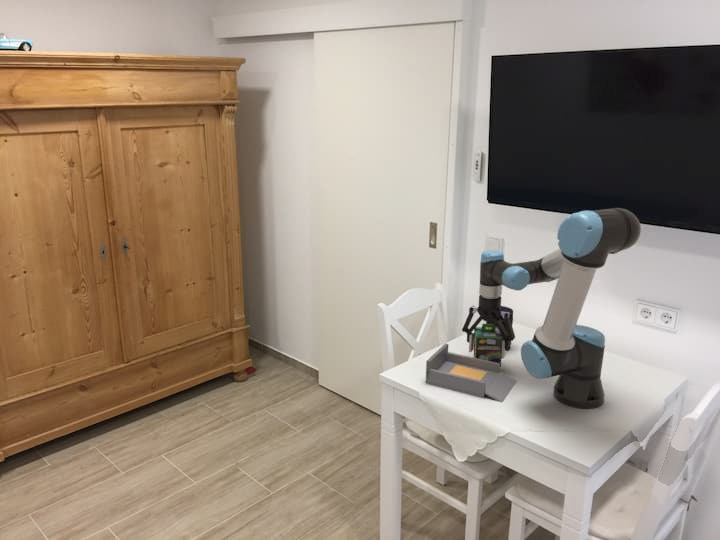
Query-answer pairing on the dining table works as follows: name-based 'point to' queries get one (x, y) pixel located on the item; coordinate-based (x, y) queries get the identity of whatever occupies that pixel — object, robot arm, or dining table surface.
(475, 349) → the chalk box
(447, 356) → the dock bay
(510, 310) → the storage jar
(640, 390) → the dining table surface
